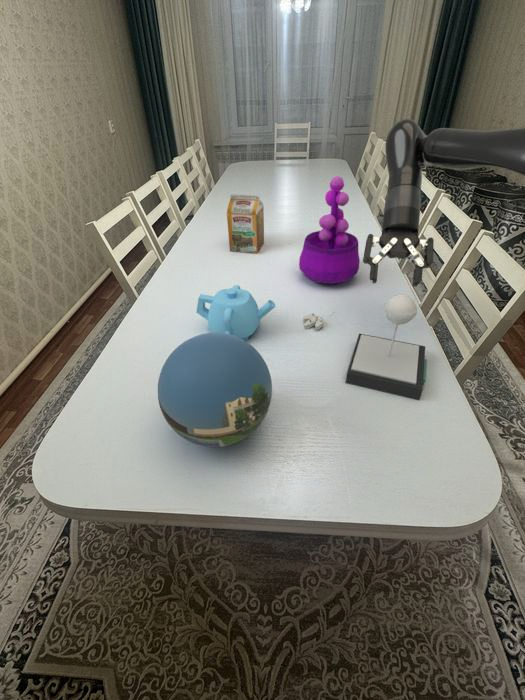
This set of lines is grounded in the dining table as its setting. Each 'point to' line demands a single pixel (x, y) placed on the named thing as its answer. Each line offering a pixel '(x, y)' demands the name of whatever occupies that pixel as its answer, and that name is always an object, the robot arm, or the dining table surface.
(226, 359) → the decorative sphere
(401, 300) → the lollipop
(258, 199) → the milk carton
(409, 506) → the dining table surface
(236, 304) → the teapot
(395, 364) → the scale
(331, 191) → the decorative plant
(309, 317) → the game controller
